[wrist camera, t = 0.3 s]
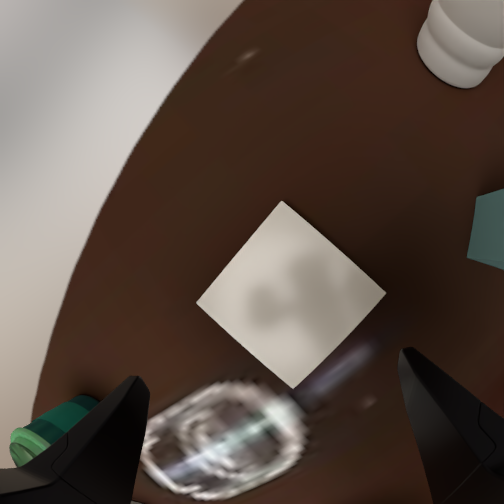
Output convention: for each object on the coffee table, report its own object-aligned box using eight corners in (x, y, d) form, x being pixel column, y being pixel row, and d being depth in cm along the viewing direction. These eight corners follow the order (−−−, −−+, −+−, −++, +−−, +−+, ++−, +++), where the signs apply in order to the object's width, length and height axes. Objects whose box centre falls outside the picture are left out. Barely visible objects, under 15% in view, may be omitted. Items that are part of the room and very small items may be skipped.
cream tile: (383, 290, 22) (386, 293, 21) (294, 382, 23) (293, 388, 22) (283, 202, 23) (281, 200, 22) (201, 300, 25) (196, 302, 24)
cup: (89, 376, 28) (7, 419, 16) (143, 432, 27) (74, 496, 15) (67, 410, 29) (-1, 450, 17) (113, 459, 28) (54, 512, 16)
